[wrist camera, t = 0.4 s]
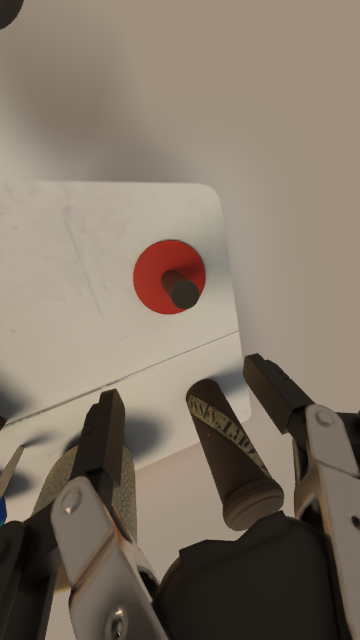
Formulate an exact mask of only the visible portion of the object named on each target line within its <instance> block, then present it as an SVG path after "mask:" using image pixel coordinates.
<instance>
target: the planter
mask: <svg viewBox="0 0 360 640" xmlns="http://www.w3.org/2000/svg"><path fill="white" fill-rule="evenodd" d="M78 445H79V444H78ZM78 445H76V446H74V447H73V448H71V449H70V450H68V451H67V452H66V453H65V454H64V455H62V456H61V457H60V458H59V459H58V461H57V462H56V463H55V464H54V466H53V467H52V469H51V470H50V472H49V474H48V476H47V478H46V480H45V483H44V485H43V487H42V489H41V492H40V495H39V497H38V500H37V502H36V505H35V507H34V510H33V512H32V514H31V516H33V515H34V514H36V513H37V512H38V511H40V510H41V509H43V508H44V507H46V506H47V505H48V504H50V503H51V502H52V501H53V500H54V499H55V498H56V497H57V495H58V493H59V492H60V491H61V489H62V488H63V487H64V486H65V485H66V484H67V482H68V480H69V478H70V475H71V471H72V468H73V464H74V460H75V456H76V453H77V449H78ZM135 491H136V490H135V469H134V461H133V458H132V455H131V453H130V451H129V450H128V449H127V448H126V447H125V446H124V445H123V457H122V473H121V486H120V487H117V488H114V489H113V496H112V502H113V504H114V506H115V508H116V509H117V511H118V513H119V515H120V516H121V518H122V520H123V522H124V523H125V525H126V527H127V529H128V530H129V532H130V534H131V536H132V537H133V539H134V541H135V542H136V544H137V516H136V492H135ZM69 590H71V587H70V582H69V579H68V576H67V572H66V569H65V566H64V564H63V565H62V566H60V567H59V568H58V574H57V579H56V584H55V589H54V594H57V593H61V592H65V591H69Z"/></svg>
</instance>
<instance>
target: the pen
mask: <svg viewBox="0 0 360 640" xmlns="http://www.w3.org/2000/svg"><path fill="white" fill-rule="evenodd" d="M23 450H24V447H21V446H20V447H19V448H18V449H17V450H16V452H15V453H14V455H13V456H12V458H11V460H10V461H9V463H8V464H7V466H6V467H5V469H4V471H3V472H2V474H1V475H0V499H1V497H2V496H3V494H4V492H5V490H6V488H7V486H8V483H9V481H10V479H11V476H12V474H13V472H14V470H15V468H16V465H17V463H18V461H19V459H20V457H21V455H22V453H23Z"/></svg>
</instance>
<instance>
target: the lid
mask: <svg viewBox="0 0 360 640" xmlns="http://www.w3.org/2000/svg"><path fill="white" fill-rule="evenodd" d="M133 281H134V287H135V291H136V293H137V295H138V297H139V299H140V300H141V301H142V303H143V304H144V305H145V306H147V307H148V308H149V309H151V310H152V311H155V312H157V313H161V314H176V313H180V312H183V311H185V310H187V309H189V308H191V307H193V306H194V305H195V304H196V303H197V301H198V299H199V297H200V295H201V293H202V291H203V288H204V285H205V269H204V265H203V262H202V260H201V258H200V257H199V255H198V254H197V253H196V251H195V250H194V249H192V248H191V247H190V246H188V245H187V244H184V243H182V242H179V241H173V240H167V241H161V242H158V243H155V244H153V245H151V246H150V247H148V248H147V249H146V250H145V251H144V252H143V253H142V254H141V255H140V257H139V259H138V260H137V263H136V265H135V268H134V274H133Z"/></svg>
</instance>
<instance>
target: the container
mask: <svg viewBox="0 0 360 640" xmlns="http://www.w3.org/2000/svg"><path fill="white" fill-rule="evenodd" d="M186 402H187V406H188V408H189V411H190V414H191V416H192V419H193V422H194V425H195V428H196V431H197V433H198V436H199V439H200V442H201V445H202V447H203V450H204V453H205V456H206V458H207V461H208V464H209V467H210V470H211V472H212V475H213V478H214V481H215V484H216V487H217V490H218V493H219V496H220V499H221V501H222V504H223V518H224V521H225V523H226V525H227V526H228V527H229V528H231V529H232V530H234V531H242V530H245V529H249V528H250V527H251V526H252V525H253V524H254V523H255V522H256V521H257V520H258V519H260V518H263V517H265V516H268V515H270V514H273V513H275V512H277V511H278V510H279V509H280V508H281V507H282V505H283V503H284V501H283V500H284V492H283V490H282V488H281V486H280V485H279V484H278V483H277V482H276V481H275V480H274V479H272V477H271V475H270V473H269V472H268V470H267V468H266V467H265V465H264V463H263V462H262V460H261V458H260V457H259V455H258V453H257V451H256V450H255V448H254V446H253V445H252V443H251V441H250V439H249V438H248V436H247V434H246V433H245V431H244V429H243V427H242V426H241V424H240V422H239V421H238V419H237V417H236V415H235V413H234V412H233V410H232V408H231V406H230V405H229V403H228V401H227V399H226V398H225V396H224V394H223V392H222V391H221V389H220V387H219V386H218V384H217V383H216V382H215V381H212V380H203V381H200V382H198V383H196V384H195V385H194V386H192V387H191V388H190V390H189V391H188V393H187V395H186Z"/></svg>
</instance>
